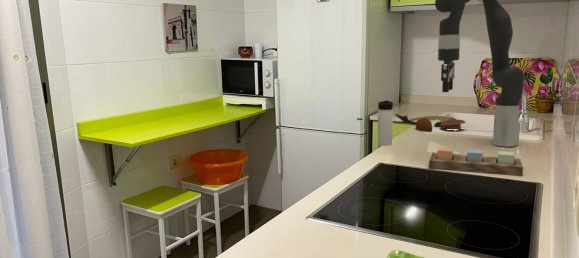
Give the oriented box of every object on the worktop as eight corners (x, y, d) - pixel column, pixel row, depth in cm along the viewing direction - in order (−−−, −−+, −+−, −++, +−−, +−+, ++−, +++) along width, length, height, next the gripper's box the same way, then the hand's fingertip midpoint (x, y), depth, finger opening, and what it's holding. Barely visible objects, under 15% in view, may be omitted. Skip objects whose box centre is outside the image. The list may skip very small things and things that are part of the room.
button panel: (519, 167, 161) (520, 158, 161) (522, 175, 151) (523, 167, 150) (432, 160, 173) (432, 153, 172) (428, 168, 162) (429, 160, 162)
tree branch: (451, 132, 228) (452, 117, 226) (392, 128, 242) (392, 114, 240) (458, 125, 247) (458, 111, 246) (403, 122, 261) (403, 109, 260)
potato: (429, 139, 222) (414, 132, 222) (425, 132, 233) (411, 126, 233) (436, 125, 220) (421, 118, 220) (432, 119, 231) (417, 113, 231)
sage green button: (513, 161, 159) (513, 152, 158) (514, 164, 154) (514, 155, 154) (497, 160, 161) (498, 151, 160) (497, 163, 156) (498, 154, 156)
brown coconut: (450, 118, 233) (451, 130, 233) (434, 122, 227) (435, 134, 227) (470, 117, 222) (471, 130, 223) (454, 121, 216) (455, 134, 217)
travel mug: (392, 145, 201) (393, 100, 197) (391, 148, 195) (392, 102, 191) (378, 144, 203) (379, 100, 199) (376, 147, 197) (377, 102, 193)
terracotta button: (452, 157, 166) (453, 148, 166) (451, 160, 162) (452, 151, 161) (438, 156, 168) (438, 147, 168) (437, 159, 164) (437, 150, 163)
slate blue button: (482, 159, 163) (482, 150, 162) (482, 162, 158) (482, 153, 157) (467, 158, 164) (467, 149, 164) (466, 161, 160) (467, 152, 159)
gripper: (441, 47, 176) (440, 89, 179) (434, 48, 164) (433, 92, 167) (462, 47, 173) (460, 89, 176) (456, 47, 160) (454, 93, 163)
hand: (447, 91), depth 171 cm, fingers open, 8 cm apart
